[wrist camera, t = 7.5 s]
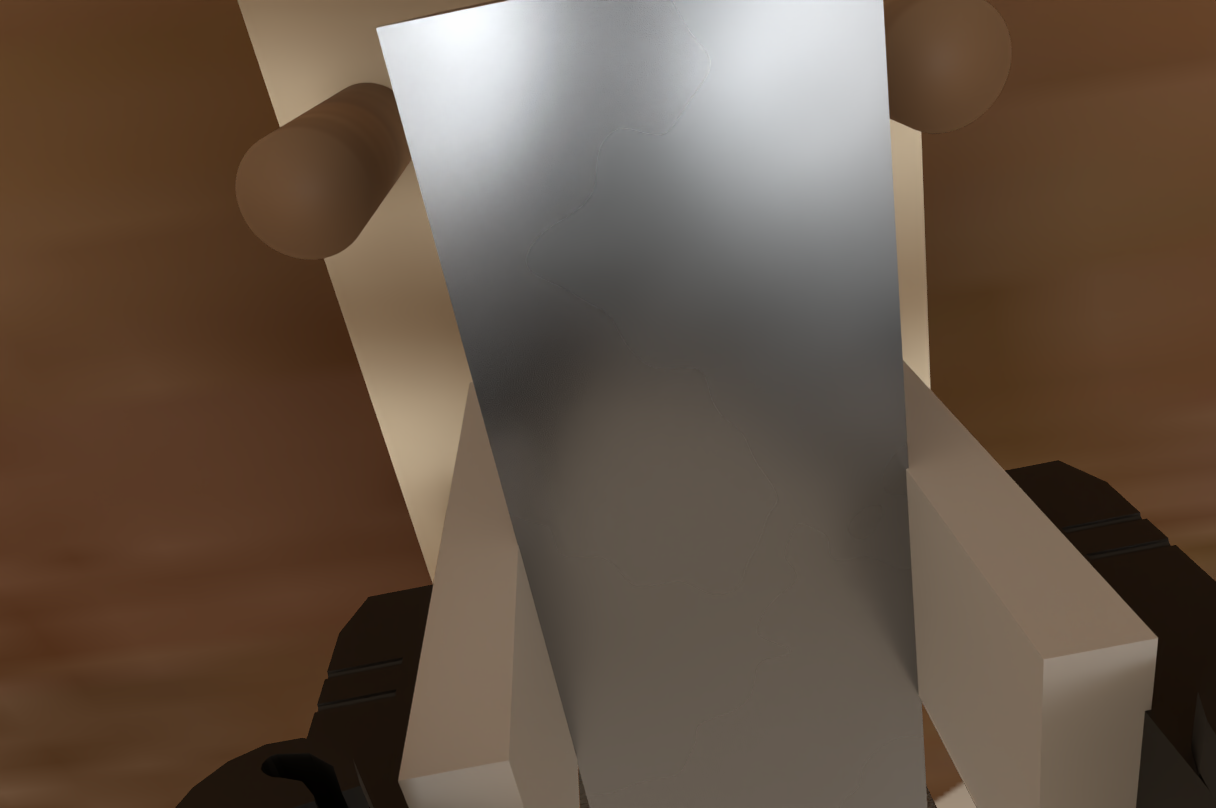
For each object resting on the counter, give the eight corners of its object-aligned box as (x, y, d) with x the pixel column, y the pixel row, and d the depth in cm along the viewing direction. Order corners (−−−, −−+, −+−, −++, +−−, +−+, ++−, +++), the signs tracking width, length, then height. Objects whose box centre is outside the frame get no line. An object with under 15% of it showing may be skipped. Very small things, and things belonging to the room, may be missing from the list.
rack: (253, -9, 16) (97, 3, 10) (889, -142, 15) (1077, -203, 10) (449, 594, 21) (417, 809, 16) (918, 504, 21) (1048, 690, 16)
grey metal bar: (397, 20, 10) (306, 41, 6) (793, -62, 10) (949, -91, 6) (615, 848, 16) (639, 1128, 12) (871, 799, 16) (979, 1067, 12)
